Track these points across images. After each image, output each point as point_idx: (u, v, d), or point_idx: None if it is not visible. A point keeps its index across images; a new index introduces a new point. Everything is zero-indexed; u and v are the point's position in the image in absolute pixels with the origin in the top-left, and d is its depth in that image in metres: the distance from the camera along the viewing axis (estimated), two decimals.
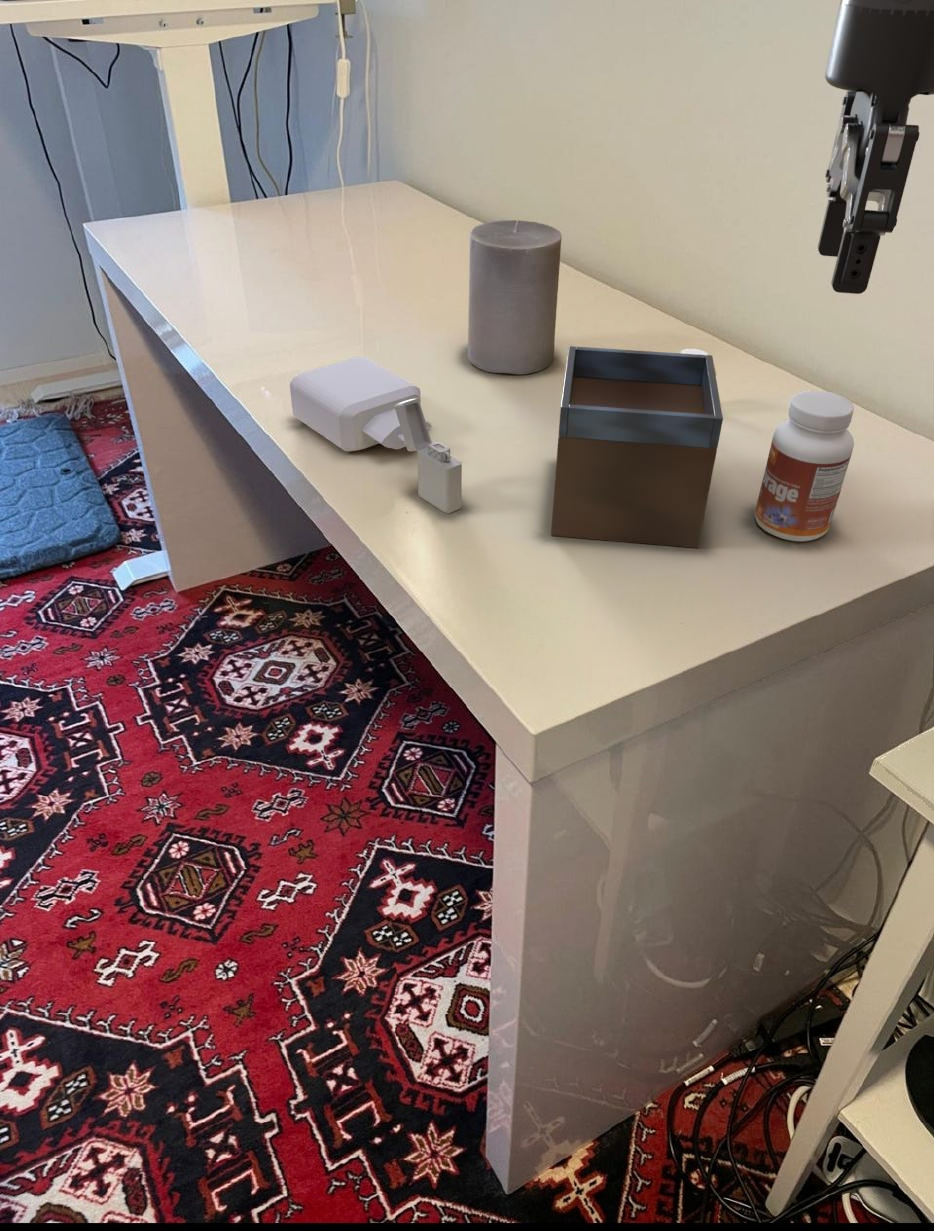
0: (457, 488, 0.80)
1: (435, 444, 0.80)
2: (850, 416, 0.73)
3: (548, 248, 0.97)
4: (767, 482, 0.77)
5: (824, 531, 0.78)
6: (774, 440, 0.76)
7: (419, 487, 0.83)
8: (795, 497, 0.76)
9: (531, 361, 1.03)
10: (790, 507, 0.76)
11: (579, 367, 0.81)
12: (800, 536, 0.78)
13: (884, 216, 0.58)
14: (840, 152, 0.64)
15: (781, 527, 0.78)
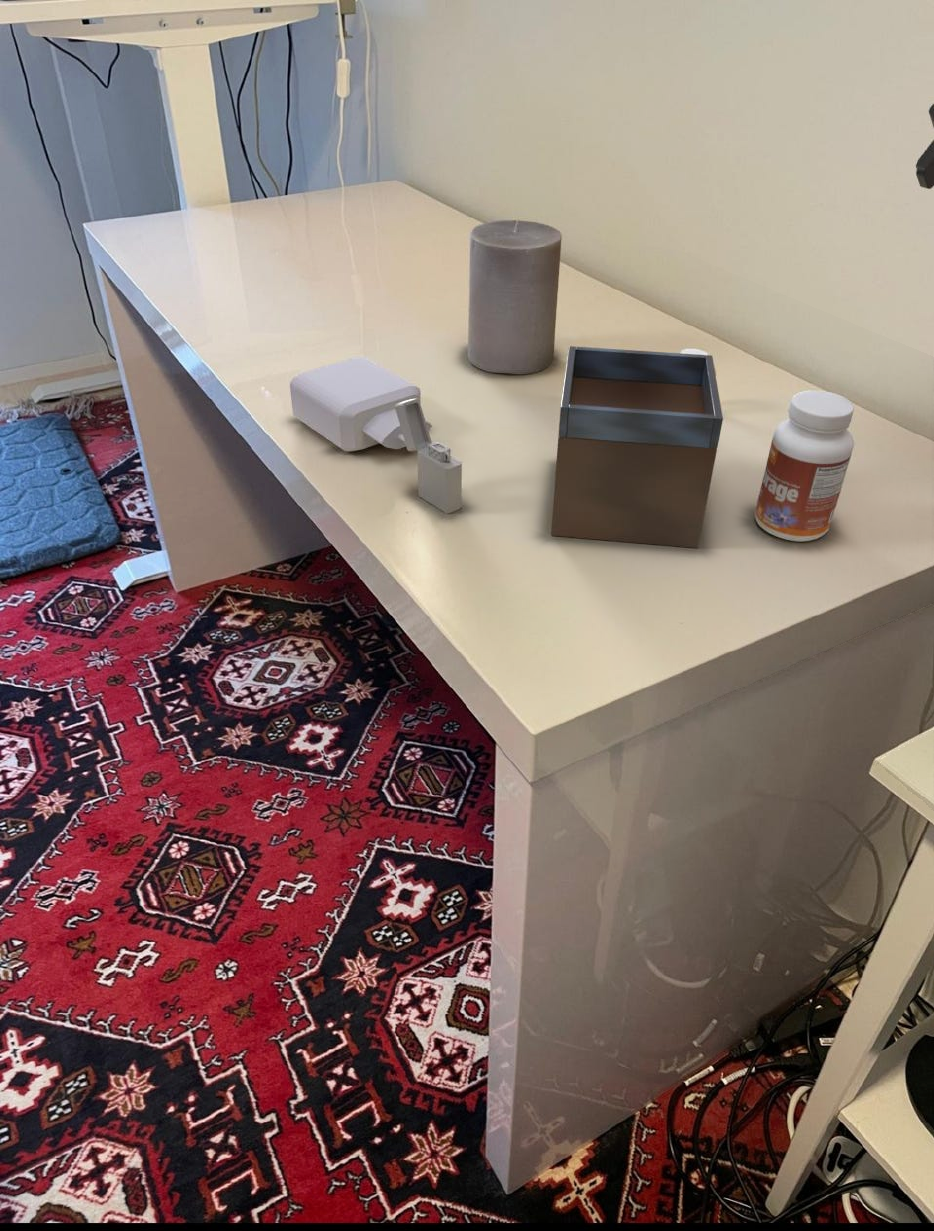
0: (457, 488, 0.80)
1: (436, 444, 0.80)
2: (850, 416, 0.73)
3: (548, 248, 0.97)
4: (767, 482, 0.77)
5: (824, 531, 0.78)
6: (774, 440, 0.76)
7: (419, 487, 0.83)
8: (795, 497, 0.76)
9: (531, 361, 1.03)
10: (790, 507, 0.76)
11: (579, 367, 0.81)
12: (800, 536, 0.78)
13: None
14: None
15: (781, 527, 0.78)
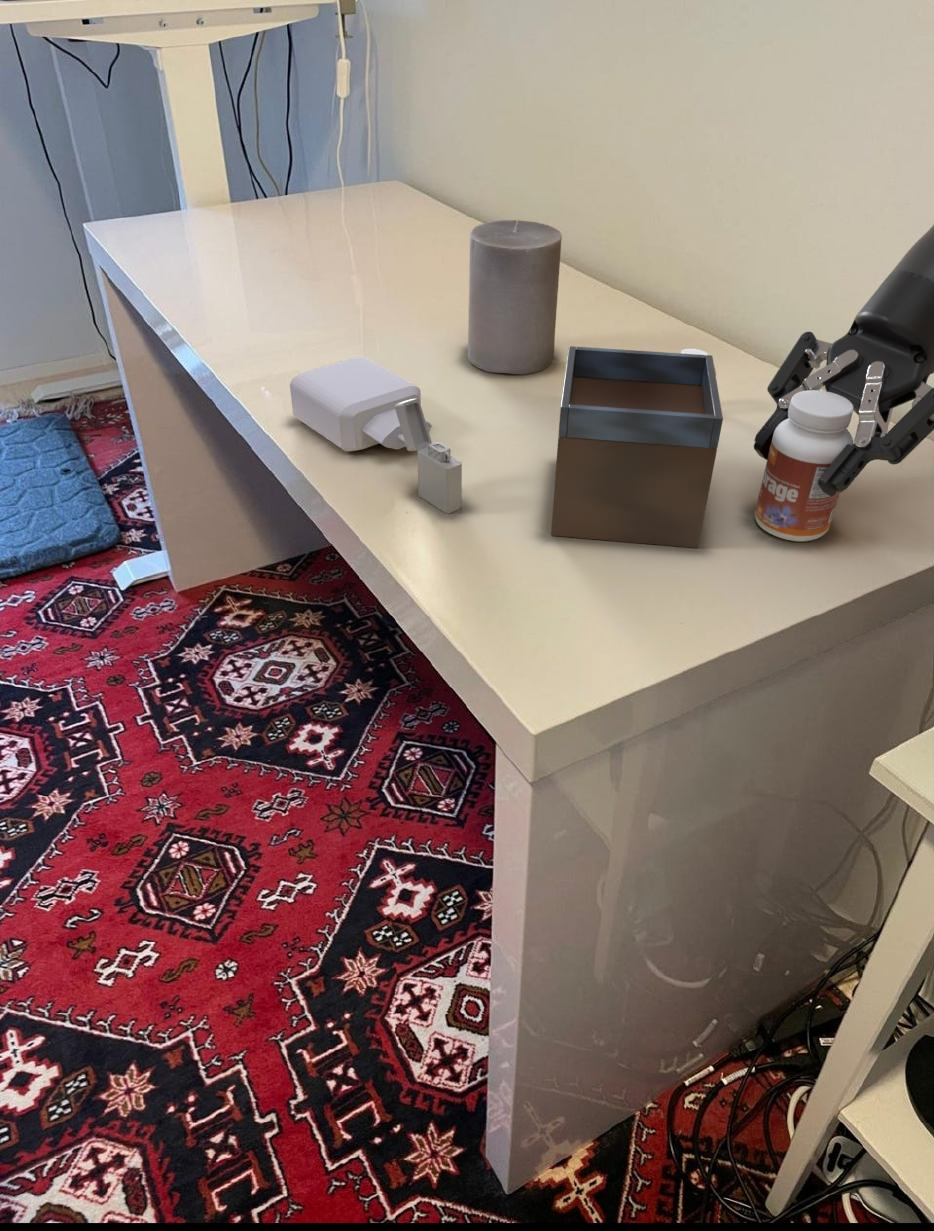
0: (457, 488, 0.80)
1: (435, 444, 0.80)
2: (850, 416, 0.73)
3: (548, 248, 0.97)
4: (767, 482, 0.77)
5: (824, 531, 0.78)
6: (774, 440, 0.76)
7: (419, 487, 0.83)
8: (795, 497, 0.76)
9: (531, 361, 1.03)
10: (790, 507, 0.76)
11: (579, 367, 0.81)
12: (800, 536, 0.78)
13: None
14: None
15: (781, 527, 0.78)
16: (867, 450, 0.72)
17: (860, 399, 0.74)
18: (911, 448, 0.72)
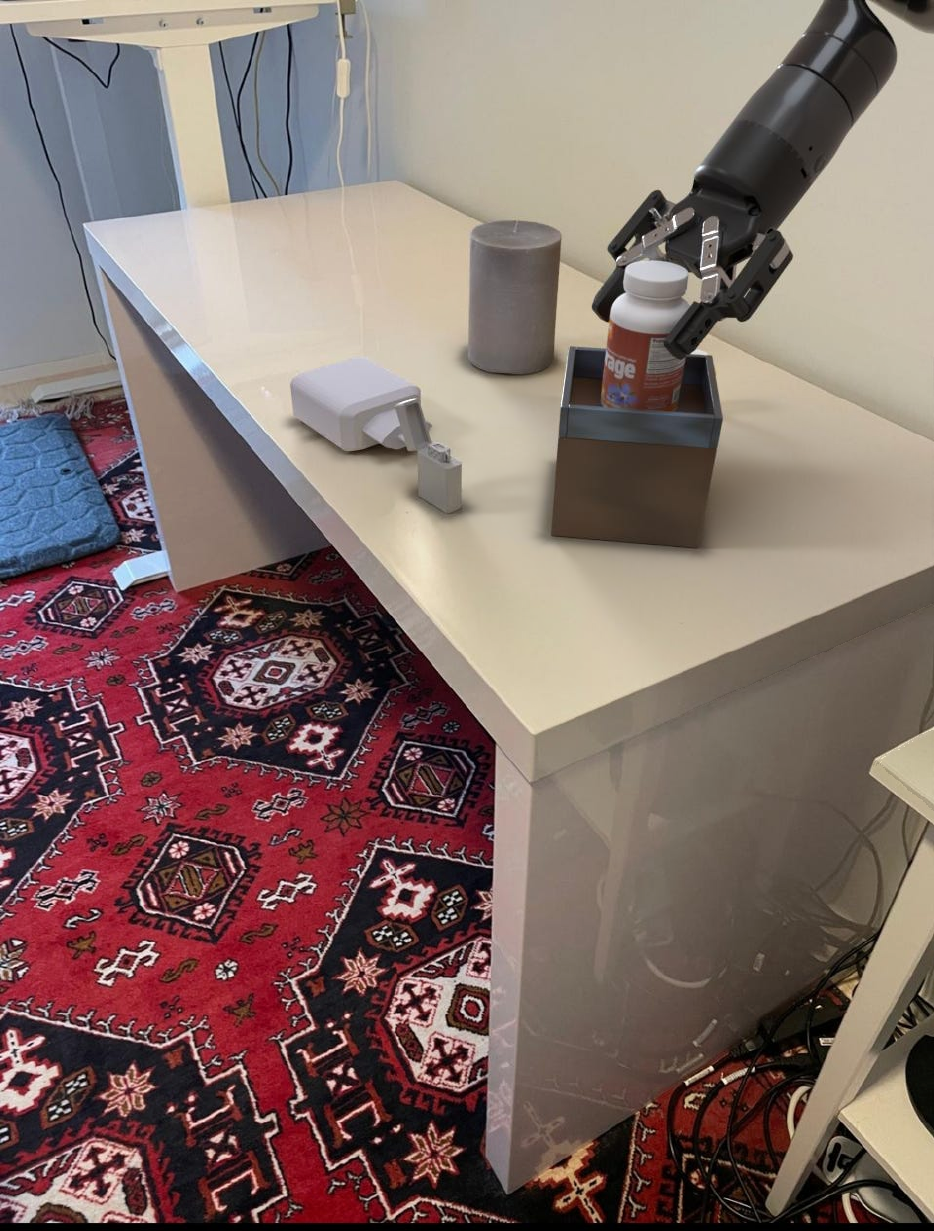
0: (457, 488, 0.80)
1: (436, 444, 0.80)
2: (683, 282, 0.70)
3: (548, 248, 0.97)
4: (607, 359, 0.74)
5: None
6: (610, 313, 0.72)
7: (419, 487, 0.83)
8: (633, 373, 0.72)
9: (531, 361, 1.03)
10: (629, 384, 0.73)
11: (579, 367, 0.81)
12: None
13: None
14: None
15: (622, 407, 0.74)
16: (715, 305, 0.68)
17: (700, 259, 0.70)
18: (759, 301, 0.68)
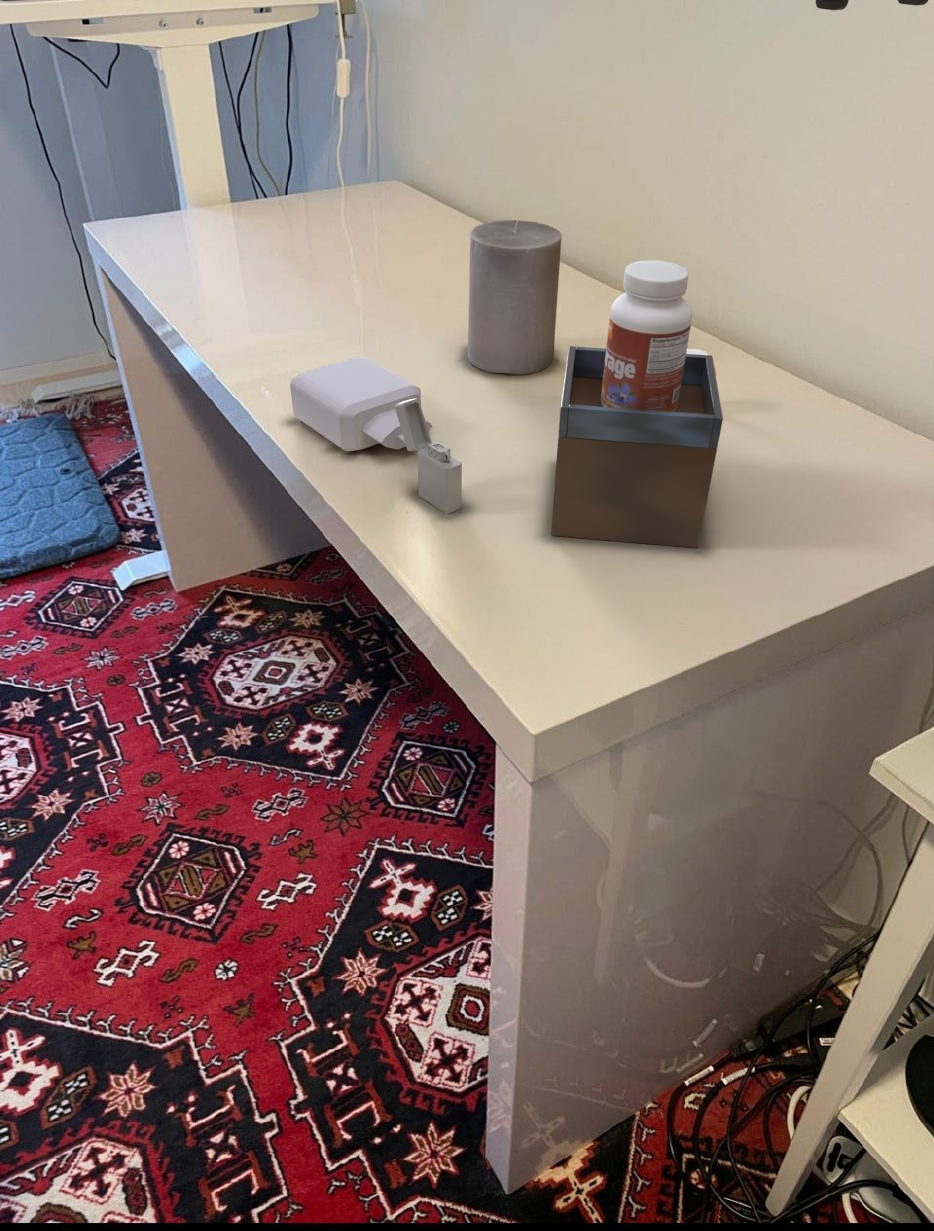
0: (457, 488, 0.80)
1: (435, 444, 0.80)
2: (683, 282, 0.69)
3: (548, 248, 0.97)
4: (607, 359, 0.74)
5: None
6: (610, 313, 0.72)
7: (419, 487, 0.83)
8: (633, 373, 0.72)
9: (531, 361, 1.03)
10: (629, 384, 0.73)
11: (579, 367, 0.81)
12: None
13: None
14: None
15: (622, 407, 0.74)
16: None
17: None
18: None
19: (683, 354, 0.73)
